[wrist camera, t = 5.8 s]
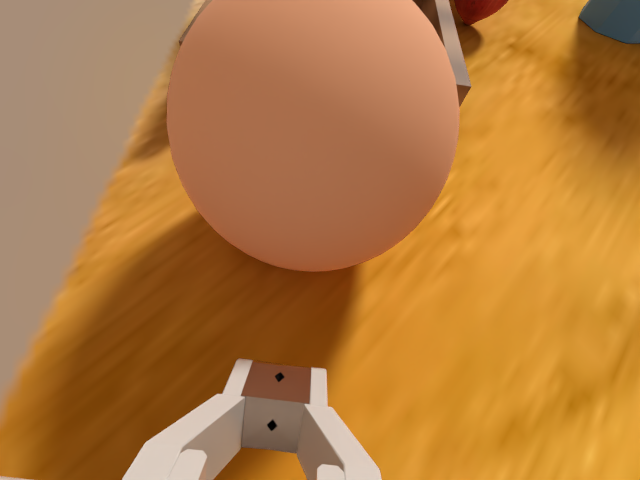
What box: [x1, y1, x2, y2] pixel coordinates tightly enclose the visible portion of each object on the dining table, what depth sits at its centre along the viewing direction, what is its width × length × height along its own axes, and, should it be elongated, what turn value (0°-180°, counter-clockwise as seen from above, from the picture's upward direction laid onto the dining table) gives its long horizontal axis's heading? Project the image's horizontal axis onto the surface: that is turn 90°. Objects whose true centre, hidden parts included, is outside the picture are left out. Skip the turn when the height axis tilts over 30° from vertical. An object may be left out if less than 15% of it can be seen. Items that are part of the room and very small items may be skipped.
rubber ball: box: [167, 0, 459, 272], centre depth 13 cm, size 12×12×12 cm
